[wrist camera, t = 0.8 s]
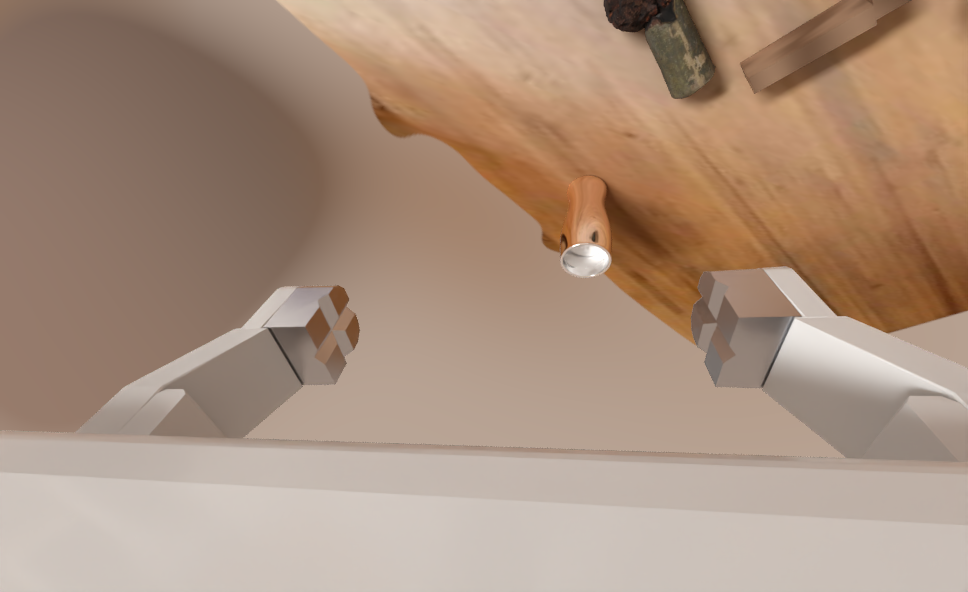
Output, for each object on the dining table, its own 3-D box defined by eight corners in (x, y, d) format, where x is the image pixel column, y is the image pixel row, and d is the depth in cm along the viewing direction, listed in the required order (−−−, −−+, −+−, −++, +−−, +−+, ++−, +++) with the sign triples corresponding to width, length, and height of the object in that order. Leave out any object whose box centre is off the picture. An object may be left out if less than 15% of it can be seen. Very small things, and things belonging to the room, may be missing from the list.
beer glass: (598, 164, 57) (598, 234, 48) (617, 198, 61) (621, 269, 51) (555, 184, 61) (548, 253, 51) (576, 215, 65) (573, 284, 55)
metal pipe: (712, 60, 45) (721, 83, 41) (653, 96, 49) (657, 120, 45) (645, -109, 35) (650, -97, 32) (579, -47, 39) (577, -31, 36)
